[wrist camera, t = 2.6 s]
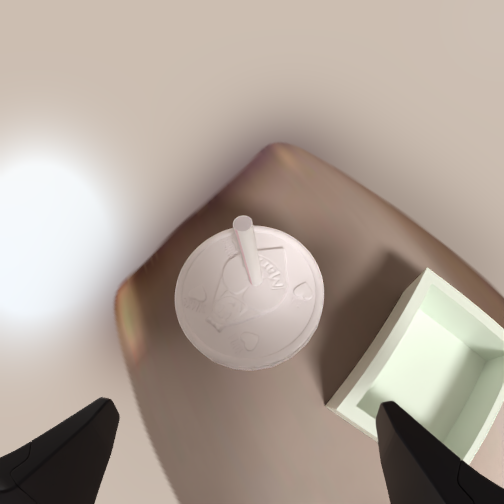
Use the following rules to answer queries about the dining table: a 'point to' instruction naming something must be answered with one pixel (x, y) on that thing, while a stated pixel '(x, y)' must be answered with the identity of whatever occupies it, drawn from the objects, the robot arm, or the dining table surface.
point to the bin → (431, 368)
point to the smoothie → (249, 296)
